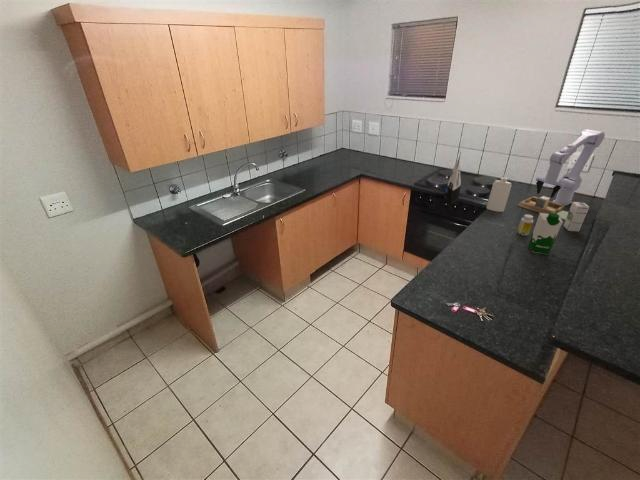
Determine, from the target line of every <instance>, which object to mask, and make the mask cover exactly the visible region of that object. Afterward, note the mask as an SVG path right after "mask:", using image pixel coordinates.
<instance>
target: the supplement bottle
mask: <svg viewBox="0 0 640 480" xmlns="http://www.w3.org/2000/svg"><path fill="white" fill-rule="evenodd" d="M533 224H534V216H533V215H532V214H524V216H523V217H522V218H521V219H520V221H519V224H518V227H517V230H516V233H517V232H518V233H519V235H520V234H521V235H520V236H529V235H530V232H531V230H532V226H533ZM518 233H517V234H518Z"/></svg>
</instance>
